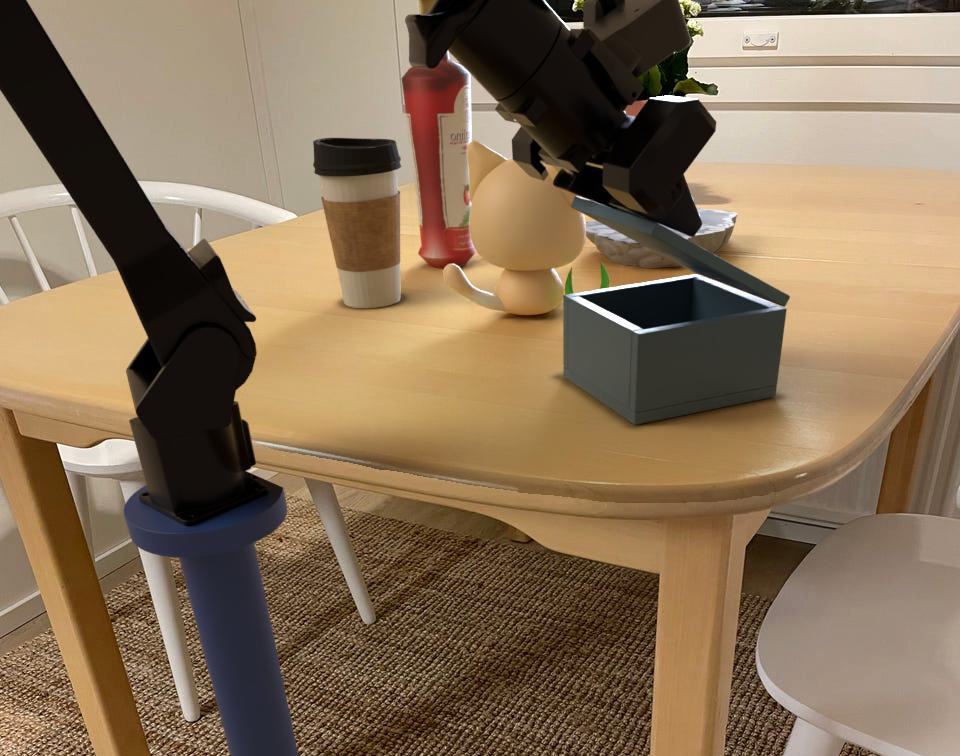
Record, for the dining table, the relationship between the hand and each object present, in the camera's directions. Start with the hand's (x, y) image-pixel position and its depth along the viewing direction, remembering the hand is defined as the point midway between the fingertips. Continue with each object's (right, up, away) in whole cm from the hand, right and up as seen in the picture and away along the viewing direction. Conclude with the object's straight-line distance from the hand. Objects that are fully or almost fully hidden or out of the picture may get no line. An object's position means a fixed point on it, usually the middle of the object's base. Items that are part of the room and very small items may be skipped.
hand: (677, 224), depth 67 cm
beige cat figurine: (-9, +2, +25) cm, 27 cm away
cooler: (0, -10, +6) cm, 12 cm away
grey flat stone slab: (+6, +16, +44) cm, 47 cm away
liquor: (-18, +15, +44) cm, 50 cm away
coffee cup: (-25, +6, +32) cm, 41 cm away
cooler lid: (0, -2, +1) cm, 2 cm away
